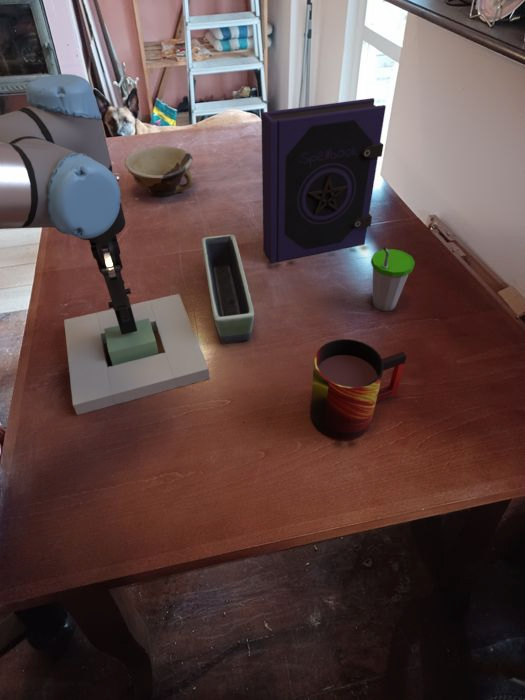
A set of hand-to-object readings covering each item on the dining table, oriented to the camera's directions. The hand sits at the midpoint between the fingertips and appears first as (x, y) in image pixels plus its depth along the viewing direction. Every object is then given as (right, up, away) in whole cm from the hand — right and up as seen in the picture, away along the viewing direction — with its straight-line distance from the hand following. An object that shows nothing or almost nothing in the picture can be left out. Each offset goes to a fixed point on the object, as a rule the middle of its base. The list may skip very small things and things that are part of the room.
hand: (128, 330), depth 82 cm
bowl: (-4, +40, +49) cm, 64 cm away
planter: (+16, +6, +14) cm, 22 cm away
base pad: (0, -4, +4) cm, 6 cm away
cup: (+47, +6, +13) cm, 49 cm away
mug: (+37, -13, -6) cm, 39 cm away
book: (+35, +20, +28) cm, 49 cm away
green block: (0, -4, +4) cm, 6 cm away
